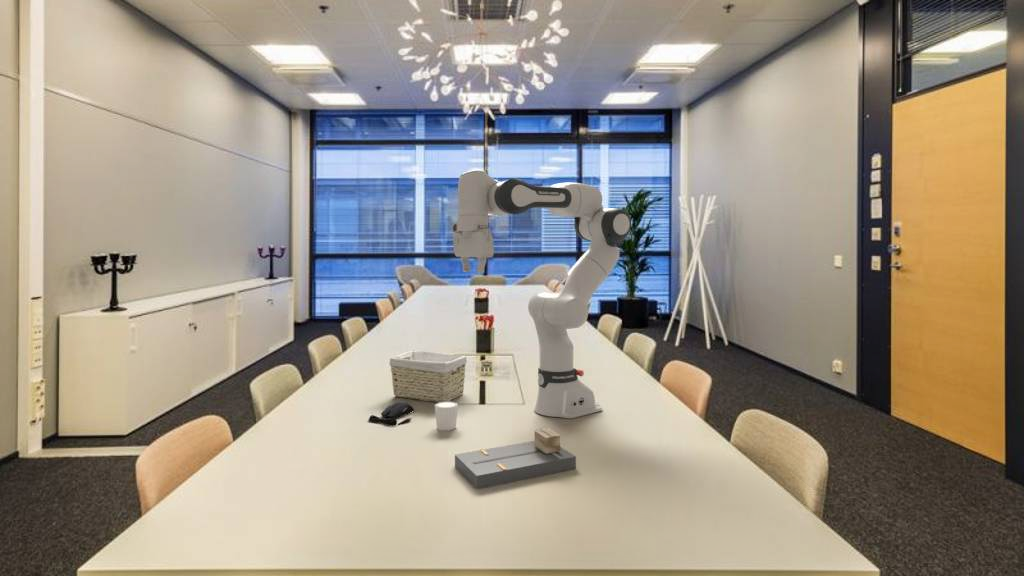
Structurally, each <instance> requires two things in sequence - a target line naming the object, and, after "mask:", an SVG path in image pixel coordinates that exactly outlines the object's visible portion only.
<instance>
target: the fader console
mask: <svg viewBox="0 0 1024 576" xmlns="http://www.w3.org/2000/svg"><path fill="white" fill-rule="evenodd" d="M576 462H577V457H576V456H575V455H574V454H572V453H571V452H569V451H568V450H566V449H564V448H563V447H561V446H560V451H559V452H553V453H548V454H546V453H544V452H543V451H541V450H540V449H538V448H537V447H535V446H534V440H531V441H525V442H520V443H513V444H509V445H502V446H496V447H491V448H490V447H489V448H485V449H479V450H472V451H468V452H462V453H457V454H454V467H455V468H456V469H457V470H458V471H459V472H460V473H461V474H462V475H463V477H464V478H465V479H466V480H468V482H470V484H471V485H472V486H473V485H474V486H475V487H476V488H475V487H474V486H473V487H474V488H475V489H476V490H478V489H477V488H479V489H482V487H484V488H487V486H489V487H492V485H493V486H496V485H497V484H498V485H502V484H507V483H512V482H518V481H523V480H527V479H532V478H536V477H540V476H541V477H542V476H547V475H550V474H556V473H561V472H566V471H570V470H575V469H576V466H577V463H576ZM498 485H497V486H498Z"/></svg>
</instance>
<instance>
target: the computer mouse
mask: <svg viewBox="0 0 1024 576" xmlns="http://www.w3.org/2000/svg"><path fill="white" fill-rule="evenodd" d="M412 411H413V412H414V411H415V409H414V407H413V405H411V403H408V402H406V401H397V402H394V403H392V404H390V405H389V406H387V407H386V408H385V409H383V411H382V412H381V413H380V415H381V416H382V418H381V417H378V416H377V415H374V414H371V415H370V416H369V418H368V422H369V423H377V422H378V424H384V425H386V424H387V426H390V425H392V427H393V425H395V426H397V425H398V426H400V424H401V425H404V424H405V423H408V422H410V421H411V420H412V419H413V418H412V417H410V418H406V419H404V420H402V421H400V422H399V423H397V422H398V420H397V419H399V418H401V417H404V416H405V414H406V415H409V414H411V413H410V412H412ZM413 412H412V413H413ZM408 413H409V414H408ZM383 417H385V418H383ZM396 424H397V425H396Z"/></svg>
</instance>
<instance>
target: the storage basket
mask: <svg viewBox="0 0 1024 576" xmlns="http://www.w3.org/2000/svg"><path fill="white" fill-rule="evenodd" d="M466 365H467V356H466V355H461V354H454V353H453V354H452V353H443V352H436V351H435V352H434V351H426V350H411V351H406V352H404V353H401V354H397V355H395V356H394V355H393V356H391V357H390V358H389V366H390V371H391V380H392V389H393V395H394V396H395V397H398V398H399V397H400V398H404V399H405V398H407V399H413V400H414V399H415V400H421V401H425V402H435V403H440V402H451V401H452V400H454V399H456V398H458V397H460V396H462V395H463V394H464V387H465V386H464V384H465V377H466V374H465V373H466Z"/></svg>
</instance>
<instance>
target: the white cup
mask: <svg viewBox="0 0 1024 576" xmlns="http://www.w3.org/2000/svg"><path fill="white" fill-rule="evenodd" d="M458 406H459V405H458V403H457V402H454V401H448V402H436V403H435V404H434V413H435V422H436V429H437V430H439V431H452V430H455V429H456V428H457V417H458ZM454 428H455V429H454Z"/></svg>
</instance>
